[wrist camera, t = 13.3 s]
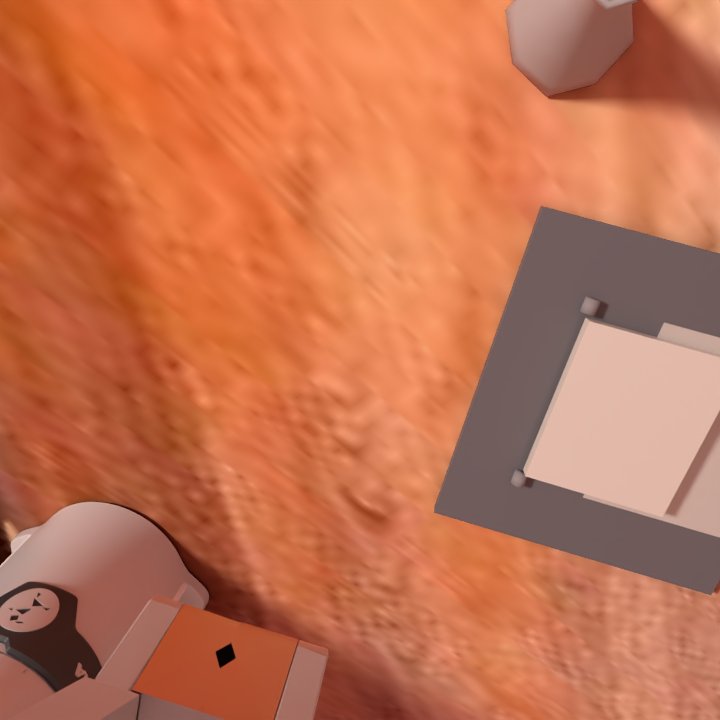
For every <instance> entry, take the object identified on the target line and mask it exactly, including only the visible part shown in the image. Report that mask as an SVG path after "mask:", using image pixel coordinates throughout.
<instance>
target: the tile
mask: <svg viewBox="0 0 720 720" xmlns="http://www.w3.org/2000/svg"><path fill="white" fill-rule="evenodd" d="M719 411H720V355H719V354H715V353H711V352H708V351H704V350H701V349H697V348H694V347H690V346H686V345H683V344H679V343H676V342H672V341H668V340H665V339H661V338H658V337H654V336H650V335H647V334H643V333H640V332H636V331H632V330H629V329H625V328H622V327H618V326H614V325H611V324H607V323H604V322H600V321H597V320H593V319H589V318H585V320H584V323H583V325H582V328H581V330H580V332H579V335H578V337H577V340H576V342H575V345H574V347H573V349H572V352H571V354H570V357H569V359H568V362H567V364H566V366H565V369H564V371H563V374H562V376H561V379H560V381H559V383H558V386H557V388H556V391H555V393H554V396H553V398H552V400H551V403H550V405H549V408H548V410H547V413H546V415H545V418H544V420H543V422H542V425H541V427H540V430H539V432H538V435H537V437H536V439H535V442H534V444H533V447H532V449H531V452H530V454H529V456H528V459H527V461H526V464H525V466H524V469H523V470H524V474H525V476H526V477H529V478H533V479H536V480H539V481H543V482H546V483H549V484H553V485H556V486H559V487H563V488H566V489H570V490H573V491H576V492H580V493H583V494H586V495H590V496H593V497H596V498H600V499H603V500H606V501H610V502H613V503H616V504H620V505H623V506H626V507H630V508H633V509H636V510H640V511H643V512H646V513H650V514H653V515H656V516H660V517H663V516H664V514H665V512H666V510H667V508H668V506H669V504H670V502H671V501H672V499H673V497H674V495H675V493H676V491H677V489H678V487H679V486H680V484H681V482H682V480H683V478H684V476H685V474H686V473H687V471H688V469H689V467H690V465H691V463H692V461H693V459H694V458H695V456H696V454H697V452H698V450H699V448H700V446H701V444H702V443H703V441H704V439H705V437H706V435H707V433H708V431H709V430H710V428H711V426H712V424H713V422H714V420H715V418H716V416H717V415H718V413H719Z"/></svg>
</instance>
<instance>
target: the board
mask: <svg viewBox="0 0 720 720" xmlns="http://www.w3.org/2000/svg"><path fill="white" fill-rule="evenodd" d="M585 318H589V319H593V320H597V321H600V322H604V323H607V324H611V325H614V326H618V327H622V328H625V329H629V330H632V331H636V332H640V333H643V334H647V335H650V336H654V337H658V338H661V339H665V340H668V341H672V342H676V343H679V344H683V345H686V346H690V347H694V348H697V349H701V350H704V351H708V352H711V353H715V354H719V355H720V254H719V253H715V252H711V251H707V250H704V249H700V248H696V247H692V246H689V245H685V244H681V243H677V242H674V241H670V240H666V239H662V238H659V237H655V236H651V235H647V234H644V233H640V232H636V231H632V230H629V229H625V228H621V227H617V226H614V225H610V224H606V223H602V222H599V221H595V220H591V219H587V218H584V217H580V216H576V215H572V214H569V213H565V212H561V211H557V210H554V209H550V208H546V207H542V206H541V208H540V211H539V214H538V216H537V219H536V222H535V225H534V228H533V230H532V233H531V236H530V239H529V242H528V245H527V247H526V250H525V253H524V256H523V259H522V261H521V264H520V267H519V270H518V273H517V276H516V278H515V281H514V284H513V287H512V290H511V292H510V295H509V298H508V301H507V304H506V307H505V309H504V312H503V315H502V318H501V321H500V324H499V326H498V329H497V332H496V335H495V338H494V340H493V343H492V346H491V349H490V352H489V355H488V357H487V360H486V363H485V366H484V369H483V371H482V374H481V377H480V380H479V383H478V386H477V388H476V391H475V394H474V397H473V400H472V402H471V405H470V408H469V411H468V414H467V417H466V419H465V422H464V425H463V428H462V431H461V433H460V436H459V439H458V442H457V445H456V448H455V450H454V453H453V456H452V459H451V462H450V464H449V467H448V470H447V473H446V476H445V479H444V481H443V484H442V487H441V490H440V493H439V495H438V498H437V501H436V504H435V507H434V513H437V514H441V515H444V516H447V517H451V518H454V519H457V520H461V521H464V522H467V523H471V524H474V525H478V526H481V527H484V528H488V529H491V530H494V531H498V532H501V533H504V534H508V535H511V536H514V537H518V538H521V539H524V540H528V541H531V542H535V543H538V544H541V545H545V546H548V547H551V548H555V549H558V550H561V551H565V552H568V553H571V554H575V555H578V556H581V557H585V558H588V559H592V560H595V561H598V562H602V563H605V564H608V565H612V566H615V567H618V568H622V569H625V570H628V571H632V572H635V573H638V574H642V575H645V576H649V577H652V578H655V579H659V580H662V581H665V582H669V583H672V584H675V585H679V586H682V587H685V588H689V589H692V590H695V591H699V592H702V593H706V594H709V595H711V594H712V593H713V591H714V589H715V588H716V586H717V584H718V583H719V581H720V411H719V413H718V415H717V416H716V418H715V420H714V422H713V424H712V426H711V428H710V430H709V431H708V433H707V435H706V437H705V439H704V441H703V443H702V444H701V446H700V448H699V450H698V452H697V454H696V456H695V458H694V459H693V461H692V463H691V465H690V467H689V469H688V471H687V473H686V474H685V476H684V478H683V480H682V482H681V484H680V486H679V487H678V489H677V491H676V493H675V495H674V497H673V499H672V501H671V502H670V504H669V506H668V508H667V510H666V512H665V514H664V516H663V517H660V516H656V515H653V514H650V513H646V512H643V511H640V510H636V509H633V508H630V507H626V506H623V505H620V504H616V503H613V502H610V501H606V500H603V499H600V498H596V497H593V496H590V495H586V494H583V493H580V492H576V491H573V490H570V489H566V488H563V487H559V486H556V485H553V484H549V483H546V482H543V481H539V480H536V479H533V478H529V477H526V476H525V474H524V470H523V469H524V466H525V464H526V461H527V459H528V456H529V454H530V452H531V449H532V447H533V444H534V442H535V439H536V437H537V435H538V432H539V430H540V427H541V425H542V422H543V420H544V418H545V415H546V413H547V410H548V408H549V405H550V403H551V400H552V398H553V396H554V393H555V391H556V388H557V386H558V383H559V381H560V379H561V376H562V374H563V371H564V369H565V366H566V364H567V362H568V359H569V357H570V354H571V352H572V349H573V347H574V345H575V342H576V340H577V337H578V335H579V332H580V330H581V328H582V325H583V323H584V320H585Z"/></svg>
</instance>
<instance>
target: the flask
mask: <svg viewBox="0 0 720 720" xmlns="http://www.w3.org/2000/svg"><path fill="white" fill-rule="evenodd" d="M638 1H639V0H514V1H513V2H512V3H511V4H510V6H509V7H508V8H507V9H506V18H507V26H508V34H509V42H510V50H511V58H512V64H513V65H514V66H515V67H516V68H517V69H518V70H519V71H520V72H521V73H522V74H523V75H524V76H526V77H527V78H528V79H529V80H530V81H531V82H532V83H533V84H534V85H535V86H536V87H537V88H538V89H539V90H540V91H541V92H542V93H543V94H544V95H545V96H550V95H554V94H558V93H562V92H566V91H570V90H574V89H578V88H582V87H586V86H590V85H594V84H596V83H597V82H598V81H599V79H600V78H601V77H602V76H603V75H604V74H605V73H606V72H607V71H608V70H609V68H610V67H611V66H612V65H613V64H614V63H615V62H616V61H617V60H618V59H619V58H620V56H621V55H622V54H623V53H624V52H625V51H626V50H627V49H628V48H629V47H630V46H631V44H632V43H633V42H634V34H633V19H632V4H633V3H637V2H638Z"/></svg>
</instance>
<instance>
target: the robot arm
mask: <svg viewBox="0 0 720 720" xmlns="http://www.w3.org/2000/svg"><path fill="white" fill-rule="evenodd" d="M11 550H12V554H11V555H10V556H9V557H8V558H7V559H6V560H5V561H4V563H3V564H2V565H1V566H0V720H314V715H315V711H316V707H317V703H318V698H319V694H320V690H321V685H322V681H323V677H324V672H325V668H326V664H327V659H328V655H329V652H328V649H327V648H324V647H321V646H318V645H314V644H311V643H308V642H305V641H302V640H299V639H296V638H293V637H290V636H286V635H283V634H280V633H276V632H273V631H270V630H266V629H263V628H260V627H256V626H253V625H250V624H246V623H243V622H242V623H240V622H237V621H234V620H231V619H228V618H225V617H222V616H220V615H217V614H214V613H211V612H208V611H205V610H204V609H205V607H206V605H207V603H208V601H209V594H208V591H207V590H206V588H205V587H204V586H203V585H202V584H201V583H200V582H199V581H198V580H197V579H196V578H195V577H194V576H192V575H191V574H190V573H189V572H188V570H187V569H186V567H185V566H184V564H183V562H182V560H181V558H180V556H179V554H178V552H177V551H176V549H175V548H174V546H173V545H172V543H171V542H170V541H169V539H168V538H167V537H166V536H165V535H164V534H163V533H162V532H161V531H160V530H159V529H158V528H157V527H156V526H155V525H153V524H152V523H151V522H149V521H148V520H146V519H145V518H143V517H142V516H140V515H138V514H136V513H135V512H132V511H130V510H128V509H126V508H123V507H120V506H117V505H113V504H108V503H102V502H84V503H78V504H74V505H70V506H68V507H65V508H63V509H62V510H60V511H58V512H57V513H56V514H54V515H53V516H52V517H51V518H50V519H49V520H48V521H47V522H46V523H44V524H43V525H41V526H38V527H34V528H30V529H27V530H24V531H22V532H20V533H19V534H18V535H17V536H16V537H15V538H14V539H13V540H12V542H11ZM298 640H299V643H298ZM297 644H298V646H297ZM296 648H297V649H296ZM294 655H295V656H294Z"/></svg>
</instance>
